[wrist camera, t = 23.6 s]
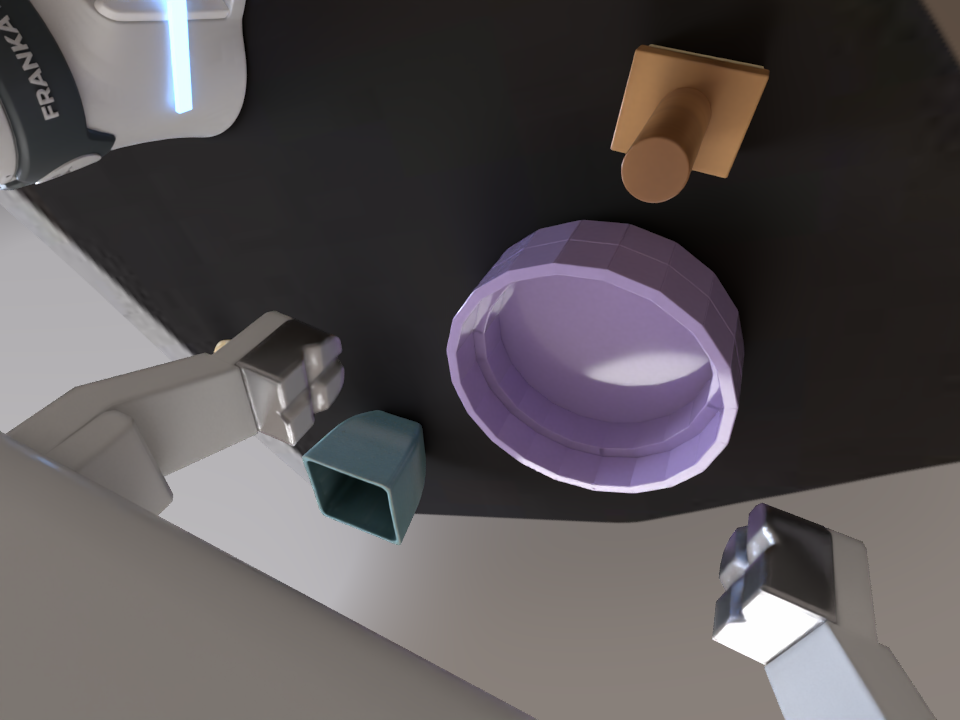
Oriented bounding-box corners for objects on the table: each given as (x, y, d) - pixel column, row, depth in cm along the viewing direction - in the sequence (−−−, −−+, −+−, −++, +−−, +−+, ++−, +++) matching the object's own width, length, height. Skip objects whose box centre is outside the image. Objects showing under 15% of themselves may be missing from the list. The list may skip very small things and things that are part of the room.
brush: (621, 133, 28) (567, 207, 21) (647, 37, 25) (593, 89, 18) (731, 159, 27) (710, 247, 20) (771, 62, 24) (763, 126, 17)
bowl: (447, 245, 37) (404, 289, 33) (718, 184, 28) (705, 235, 24) (530, 431, 45) (503, 484, 41) (760, 432, 36) (756, 502, 32)
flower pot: (439, 414, 49) (388, 489, 43) (445, 474, 55) (400, 548, 49) (358, 388, 52) (299, 455, 46) (371, 448, 58) (320, 515, 51)
